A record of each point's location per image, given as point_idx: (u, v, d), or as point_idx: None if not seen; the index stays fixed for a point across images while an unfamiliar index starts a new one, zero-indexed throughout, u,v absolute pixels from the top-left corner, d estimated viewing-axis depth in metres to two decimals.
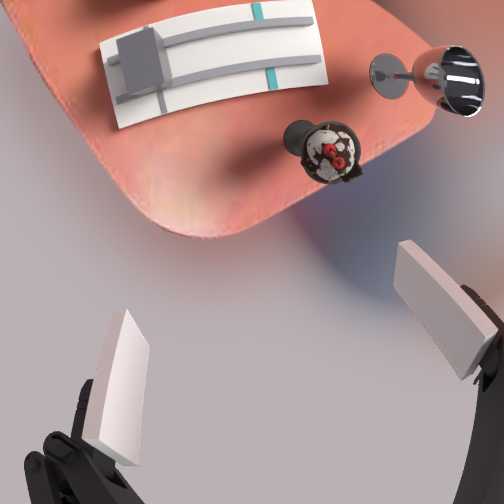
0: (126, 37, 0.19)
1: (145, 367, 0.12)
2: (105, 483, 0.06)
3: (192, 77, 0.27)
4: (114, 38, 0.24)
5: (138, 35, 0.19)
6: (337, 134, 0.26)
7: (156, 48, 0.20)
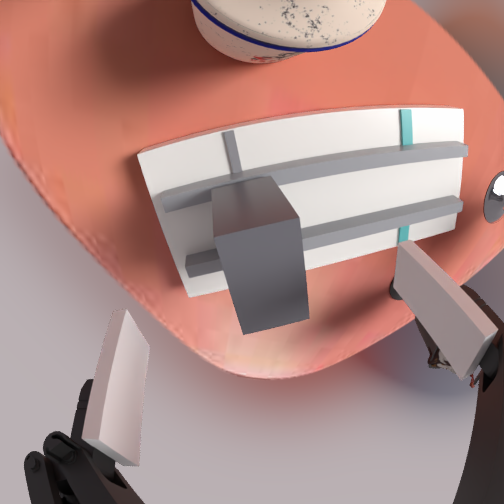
0: (238, 235, 0.12)
1: (145, 367, 0.12)
2: (105, 483, 0.06)
3: (312, 243, 0.20)
4: (166, 148, 0.17)
5: (267, 234, 0.12)
6: None
7: (302, 263, 0.13)
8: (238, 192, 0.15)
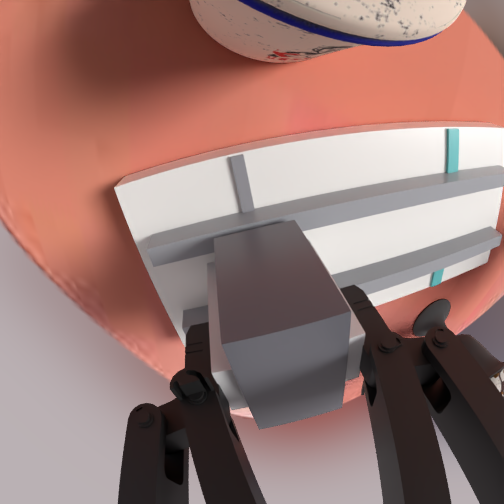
0: (259, 340, 0.08)
1: None
2: (230, 433, 0.07)
3: None
4: (152, 180, 0.13)
5: (302, 335, 0.08)
6: (499, 378, 0.15)
7: (344, 360, 0.09)
8: (252, 249, 0.11)
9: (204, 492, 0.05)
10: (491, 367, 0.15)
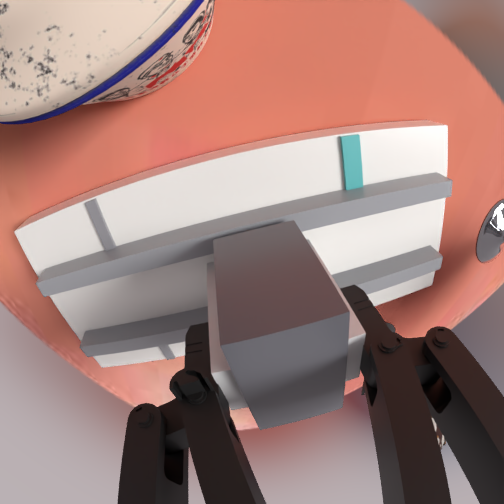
0: (257, 341, 0.08)
1: None
2: (230, 433, 0.07)
3: None
4: (36, 224, 0.13)
5: (300, 336, 0.08)
6: None
7: (344, 361, 0.09)
8: (251, 250, 0.11)
9: (204, 492, 0.05)
10: None
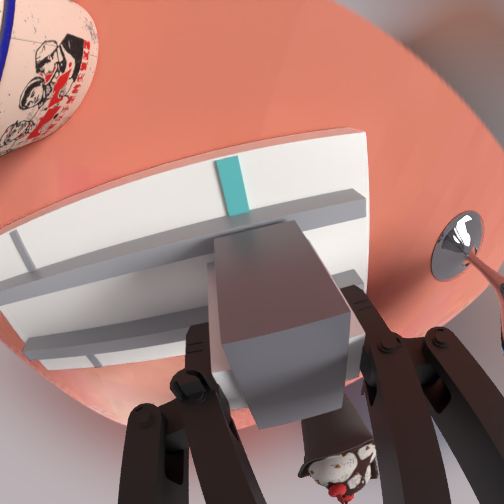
0: (258, 340, 0.08)
1: None
2: (230, 433, 0.07)
3: (119, 345, 0.16)
4: None
5: (301, 335, 0.08)
6: (356, 456, 0.14)
7: (344, 360, 0.09)
8: (252, 249, 0.11)
9: (204, 492, 0.05)
10: (342, 442, 0.15)
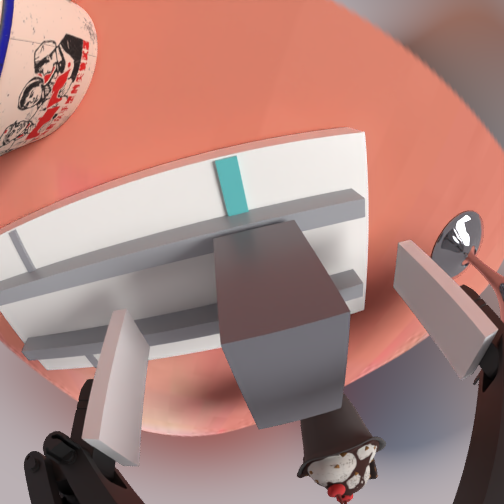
0: (258, 340, 0.08)
1: (145, 367, 0.12)
2: (105, 483, 0.06)
3: None
4: None
5: (301, 335, 0.08)
6: (355, 456, 0.14)
7: (344, 360, 0.09)
8: (252, 249, 0.11)
9: None
10: (341, 442, 0.15)
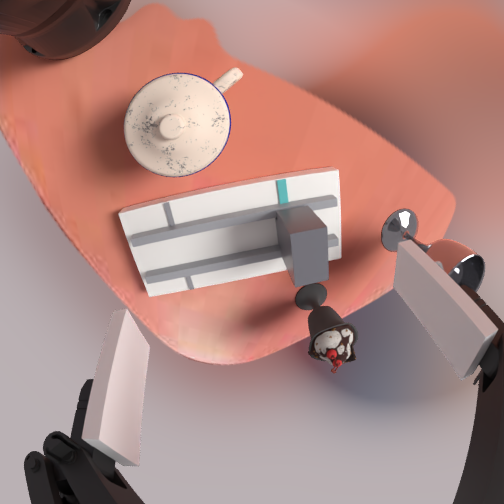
0: (300, 233, 0.26)
1: (145, 367, 0.12)
2: (105, 483, 0.06)
3: (217, 266, 0.34)
4: (134, 211, 0.31)
5: (313, 233, 0.26)
6: (340, 333, 0.33)
7: (327, 249, 0.27)
8: (293, 214, 0.30)
9: None
10: (332, 324, 0.33)
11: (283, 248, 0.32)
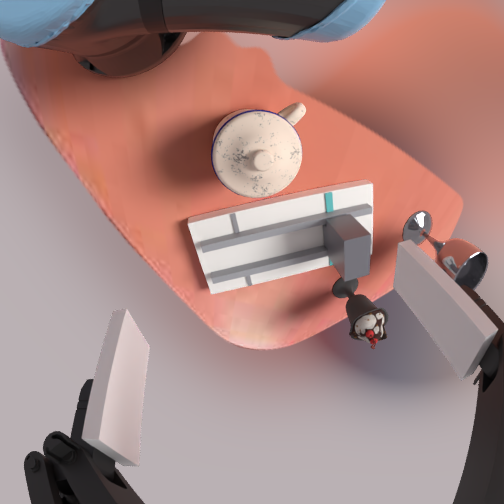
0: (351, 240, 0.32)
1: (145, 367, 0.12)
2: (105, 483, 0.06)
3: (275, 266, 0.41)
4: (202, 221, 0.37)
5: (360, 239, 0.33)
6: (375, 317, 0.39)
7: (369, 250, 0.34)
8: (340, 222, 0.36)
9: None
10: (368, 310, 0.40)
11: (331, 249, 0.38)
